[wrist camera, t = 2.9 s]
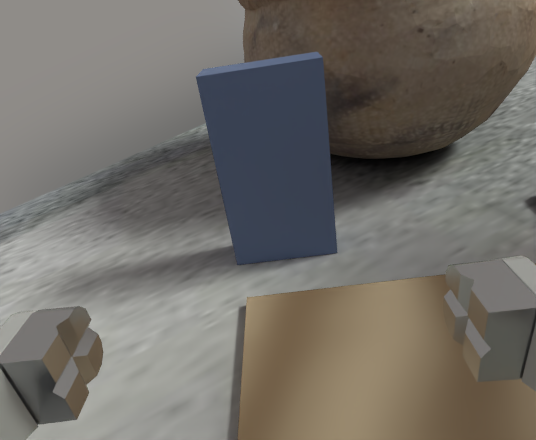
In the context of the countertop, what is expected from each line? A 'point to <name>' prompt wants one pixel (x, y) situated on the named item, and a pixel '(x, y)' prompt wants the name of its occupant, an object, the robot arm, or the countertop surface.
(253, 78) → the box
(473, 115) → the ceramic bowl
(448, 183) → the countertop surface
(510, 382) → the mat
